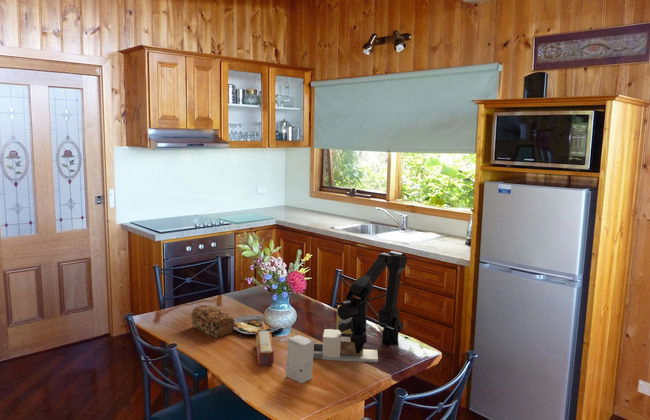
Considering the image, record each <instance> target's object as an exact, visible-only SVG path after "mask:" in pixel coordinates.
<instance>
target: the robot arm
mask: <svg viewBox="0 0 650 420" xmlns="http://www.w3.org/2000/svg"><path fill="white" fill-rule="evenodd" d="M372 263H373V264H372V265H371V266H370V267H369V269H368V270H367V271H366V272H365V274H363V276H361V277H359V278H357V279H356V280H355V281H354V282H353V283H352V284H351V285H350V288H349V290H348V291H347V294H346V297H345V298H344V299H345V300H344V301H342V302H341V304H339V305H340V306H339V307H338V306H337V311H336V314H337V313H338V316H339V317H340V318H341V319H342V320H341V321H338V327H339V330H340V332H343V331H345V330H349V329H351V332H352V333H351V334H350V337H351V340H350V342H354V343H355V348H356V353H357V354H359V353H360V351H361V349H362V347H363V348H364V345H365V344H366V343H367V336H368V335H367V319H368V318H367V316H368V315H367V314H368V313H367V312H368V303H369V302H371V299H370V296H371V294H372V292H373V289H374V284H375V282H377V280H378V279H379V278H380V276H381V275H382V273H383V272H384V271H385V269H387V270H388V278H387V285H386V293H385V301H384V305H383V306H382V308H380V309H379V310H378V317H377V318H378V323H379V327H380V328H383V329H382V331H381V341H382V344H383V345H395V346H396V345H397V346H399V332H401V331H402V330H403V327H404V324H403V322H402V321H401V320H400V312H399V310H398V307H397V305H398V298H399V290H400V281H401V275H402V272H403V271H404V270H405V269H406V267H407V263H408V257H407V255H406V253H403V252H398V251H394V250H390V251H389V252H381V253H379V254H378V256H377V258H376V260H375V261H374V262H372Z"/></svg>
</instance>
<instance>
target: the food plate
mask: <svg viewBox="0 0 650 420" xmlns="http://www.w3.org/2000/svg"><path fill="white" fill-rule="evenodd" d="M263 315H264V314H249V315H242V316H239V317H235V318H233V319H234V331H236V332H239V333H241V334H244V335H250V336H251V335H253V336H254V335H255V336H256V334H257V333H258V332H259V331H269V332H270V333H271V334H272V333H275V332H274V331H270V328H269V327H268V326H267V325H266V324H265V322H264V321H263ZM247 323H248V324H247Z"/></svg>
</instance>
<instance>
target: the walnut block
mask: <svg viewBox="0 0 650 420" xmlns="http://www.w3.org/2000/svg"><path fill="white" fill-rule="evenodd" d="M350 340H351V336H341V345H340V354H341V355H358V356H363V349H364V346H363V347H362V349H361V351H360V353H359V354H357V353H356V348H355V343H354V342H350Z"/></svg>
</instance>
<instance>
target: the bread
mask: <svg viewBox="0 0 650 420" xmlns="http://www.w3.org/2000/svg"><path fill="white" fill-rule="evenodd" d="M190 315H191V316H190V317H191V325H192V327H193V328H194V329H196V330H198V331H200V332H203V333H204V334H206V335H208V336H212V337H214V338H222V337H223V336H226V335H230V334H233V333H234V331H235V330H234V319H235V318H234V317H233V316H232V315H231V313H228V312H227V311H226V310H223V309H222V308H221V309H220V308H218V307H216V306H212V305H210V304H208V305H206V304H202V305H198V306H196V307H194V309H192V312H191V314H190Z"/></svg>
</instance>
